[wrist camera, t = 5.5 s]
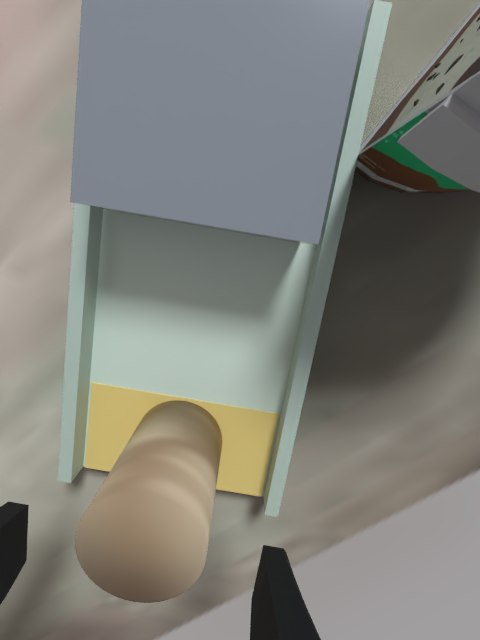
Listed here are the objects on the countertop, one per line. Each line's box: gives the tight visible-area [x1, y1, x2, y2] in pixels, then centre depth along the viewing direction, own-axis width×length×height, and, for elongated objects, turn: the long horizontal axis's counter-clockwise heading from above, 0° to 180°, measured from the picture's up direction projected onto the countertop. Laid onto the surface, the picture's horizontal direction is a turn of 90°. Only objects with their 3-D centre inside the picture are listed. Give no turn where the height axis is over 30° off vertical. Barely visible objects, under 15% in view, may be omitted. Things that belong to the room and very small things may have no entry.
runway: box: [58, 0, 392, 517], centre depth 15 cm, size 10×20×2 cm, turn 171°
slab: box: [70, 0, 370, 244], centre depth 12 cm, size 8×7×4 cm
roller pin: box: [75, 400, 222, 603], centre depth 14 cm, size 4×4×6 cm
